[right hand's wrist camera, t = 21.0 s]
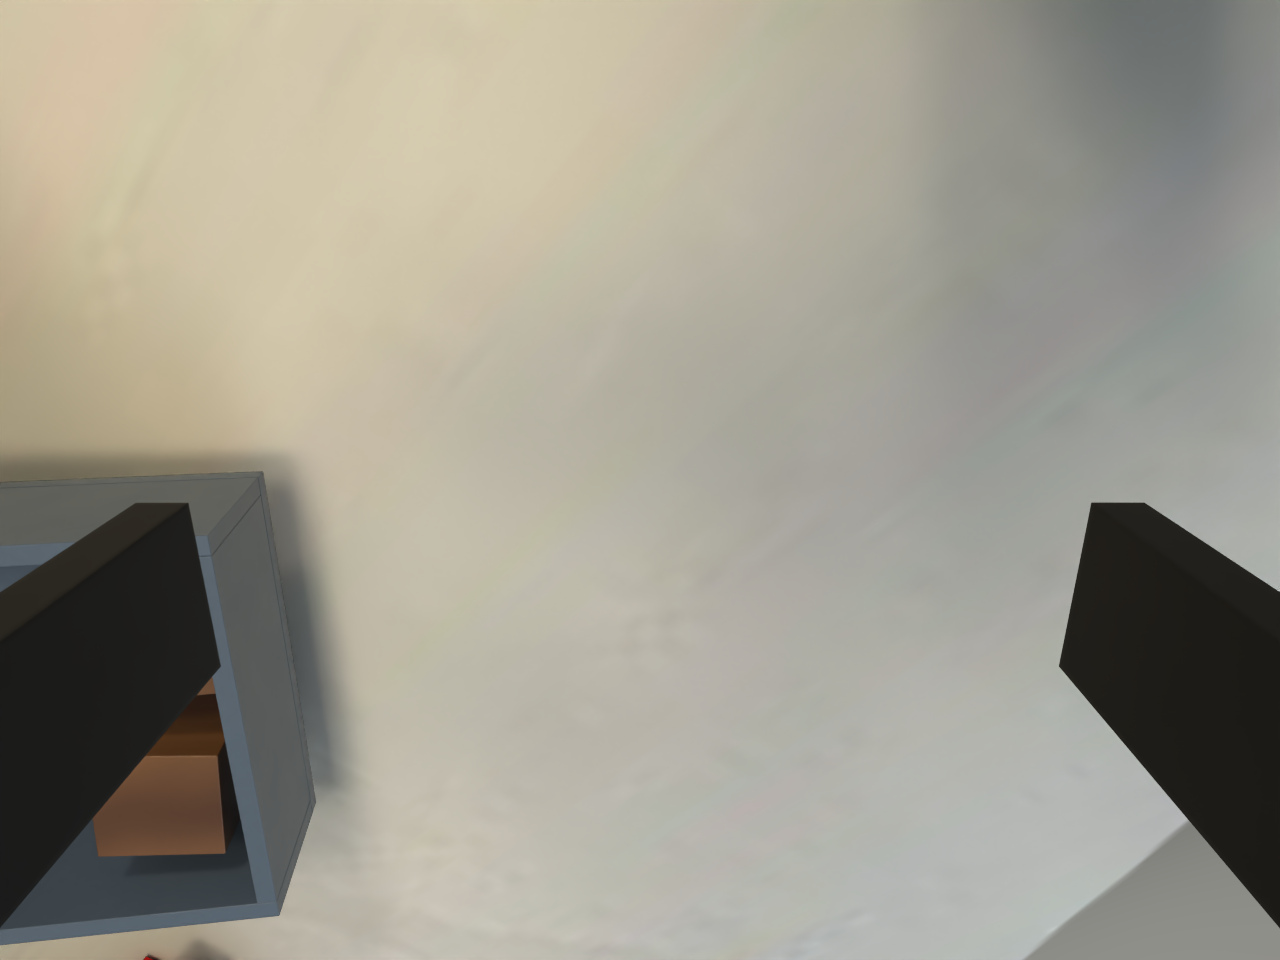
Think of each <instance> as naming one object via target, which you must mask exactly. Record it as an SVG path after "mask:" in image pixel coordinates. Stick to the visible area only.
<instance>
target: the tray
mask: <svg viewBox="0 0 1280 960" xmlns="http://www.w3.org/2000/svg"><path fill="white" fill-rule="evenodd" d="M135 503H189V508H190V513H191V518H192V523H193V528H194V533H195V538H196V543H197V548H198V553H199V558H200V563H201V568H202V573H203V578H204V583H205V588H206V593H207V599H208V604H209V609H210V614H211V619H212V624H213V629H214V634H215V639H216V644H217V649H218V654H219V659H220V664H221V667H220V668H219V669H218V670H217V672H216V673H215V674H214V675H213V676H212V678H213V683H214V688H215V693H216V698H217V703H218V708H219V713H220V718H221V723H222V728H223V733H224V738H225V743H226V748H227V753H228V759H229V764H230V769H231V774H232V779H233V784H234V789H235V794H236V799H237V804H238V809H239V814H240V821H239V823H238V826H237V828H236V830H235V833H234V835H233V837H232V840H231V842H230V844H229V846H228V849H227V851H226V853H225V854H188V855H147V856H107V857H99V856H98V852H97V846H96V839H95V832H94V825H93V819H92V820H91V821H90V822H89V823H88V825H87V826H86V827H85V828H84V829H83V830H82V832H81V833H80V834H79V835H78V836H77V838H76V839H75V840H74V841H73V842H72V843H71V845H70V846H69V847H68V848H67V849H66V851H65V852H64V853H63V854H62V855H61V857H60V858H59V859H58V860H57V861H56V862H55V864H54V865H53V866H52V867H51V868H50V870H49V871H48V872H47V873H46V874H45V875H44V877H43V878H42V879H41V880H40V881H39V883H38V884H37V885H36V886H35V887H34V889H33V890H32V891H31V892H30V893H29V894H28V896H27V897H26V898H25V899H24V900H23V902H22V903H21V904H20V905H19V906H18V907H17V909H16V910H15V911H14V912H13V913H12V915H11V916H10V917H9V918H8V919H7V921H6V922H5V923H4V924H3V925H2V926H1V928H0V945H7V944H16V943H26V942H35V941H44V940H54V939H63V938H73V937H82V936H92V935H101V934H111V933H120V932H130V931H139V930H149V929H158V928H168V927H177V926H187V925H196V924H206V923H215V922H225V921H234V920H244V919H253V918H262V917H272V916H279V915H280V912H281V909H282V906H283V902H284V899H285V896H286V893H287V890H288V887H289V884H290V881H291V878H292V875H293V872H294V868H295V865H296V862H297V859H298V856H299V853H300V850H301V847H302V844H303V841H304V838H305V834H306V831H307V828H308V825H309V822H310V819H311V816H312V812H313V810H314V806H315V803H316V799H315V793H314V787H313V780H312V774H311V768H310V762H309V755H308V749H307V743H306V737H305V730H304V724H303V718H302V712H301V705H300V699H299V693H298V687H297V680H296V674H295V668H294V662H293V655H292V649H291V643H290V637H289V630H288V624H287V618H286V612H285V605H284V599H283V593H282V587H281V580H280V574H279V568H278V562H277V555H276V549H275V543H274V537H273V530H272V524H271V518H270V512H269V505H268V499H267V493H266V487H265V480H264V474H263V472H262V471H259V472H235V473H211V474H187V475H163V476H139V477H115V478H91V479H67V480H43V481H19V482H0V592H1V591H3V590H4V589H6V588H7V587H9V586H10V585H12V584H13V583H15V582H16V581H18V580H20V579H21V578H23V577H24V576H26V575H27V574H29V573H30V572H32V571H33V570H35V569H36V568H38V567H39V566H41V565H42V564H44V563H45V562H47V561H48V560H50V559H51V558H53V557H54V556H56V555H57V554H59V553H60V552H62V551H63V550H65V549H66V548H68V547H69V546H71V545H72V544H74V543H76V542H77V541H79V540H80V539H82V538H83V537H85V536H86V535H88V534H89V533H91V532H92V531H94V530H95V529H97V528H98V527H100V526H101V525H103V524H104V523H106V522H107V521H109V520H110V519H112V518H113V517H115V516H116V515H118V514H119V513H121V512H122V511H124V510H125V509H127V508H128V507H130V506H132V505H133V504H135Z"/></svg>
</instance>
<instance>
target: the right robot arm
mask: <svg viewBox="0 0 1280 960" xmlns="http://www.w3.org/2000/svg"><path fill="white" fill-rule="evenodd" d="M220 667H221V664H220V659H219V654H218V649H217V644H216V639H215V634H214V629H213V624H212V619H211V614H210V609H209V604H208V599H207V593H206V588H205V583H204V578H203V573H202V568H201V563H200V558H199V553H198V548H197V543H196V538H195V533H194V528H193V523H192V518H191V513H190V508H189V503H135V504H133V505H132V506H130V507H128V508H127V509H125V510H124V511H122V512H121V513H119V514H118V515H116V516H115V517H113V518H112V519H110V520H109V521H107V522H106V523H104V524H103V525H101V526H100V527H98V528H97V529H95V530H94V531H92V532H91V533H89V534H88V535H86V536H85V537H83V538H82V539H80V540H79V541H77V542H76V543H74V544H72V545H71V546H69V547H68V548H66V549H65V550H63V551H62V552H60V553H59V554H57V555H56V556H54V557H53V558H51V559H50V560H48V561H47V562H45V563H44V564H42V565H41V566H39V567H38V568H36V569H35V570H33V571H32V572H30V573H29V574H27V575H26V576H24V577H23V578H21V579H20V580H18V581H16V582H15V583H13V584H12V585H10V586H9V587H7V588H6V589H4V590H3V591H1V592H0V928H1V926H2V925H3V924H4V923H5V922H6V921H7V919H8V918H9V917H10V916H11V915H12V913H13V912H14V911H15V910H16V909H17V907H18V906H19V905H20V904H21V903H22V902H23V900H24V899H25V898H26V897H27V896H28V894H29V893H30V892H31V891H32V890H33V889H34V887H35V886H36V885H37V884H38V883H39V881H40V880H41V879H42V878H43V877H44V875H45V874H46V873H47V872H48V871H49V870H50V868H51V867H52V866H53V865H54V864H55V862H56V861H57V860H58V859H59V858H60V857H61V855H62V854H63V853H64V852H65V851H66V849H67V848H68V847H69V846H70V845H71V843H72V842H73V841H74V840H75V839H76V838H77V836H78V835H79V834H80V833H81V832H82V830H83V829H84V828H85V827H86V826H87V825H88V823H89V822H90V821H91V820H92V819H93V817H94V816H95V815H96V814H97V813H98V811H99V810H100V809H101V808H102V807H103V806H104V804H105V803H106V802H107V801H108V800H109V798H110V797H111V796H112V795H113V794H114V793H115V791H116V790H117V789H118V788H119V787H120V785H121V784H122V783H123V782H124V781H125V779H126V778H127V777H128V776H129V775H130V774H131V772H132V771H133V770H134V769H135V768H136V766H137V765H138V764H139V763H140V762H141V760H142V759H143V758H144V757H145V756H146V755H147V753H148V752H149V751H150V750H151V749H152V747H153V746H154V745H155V744H156V743H157V742H158V740H159V739H160V738H161V737H162V736H163V734H164V733H165V732H166V731H167V730H168V728H169V727H170V726H171V725H172V724H173V723H174V721H175V720H176V719H177V718H178V717H179V715H180V714H181V713H182V712H183V711H184V710H185V708H186V707H187V706H188V705H189V704H190V702H191V701H192V700H193V699H194V698H195V696H196V695H197V694H198V693H199V692H200V691H201V689H202V688H203V687H204V686H205V685H206V683H207V682H208V681H209V680H210V679H211V678H212V676H213V675H214V674H215V673H216V672H217V670H218V669H219V668H220ZM1059 667H1060V668H1061V669H1062V670H1063V672H1064V673H1065V674H1066V675H1067V676H1068V678H1069V679H1070V680H1071V681H1072V682H1073V683H1074V685H1075V686H1076V687H1077V688H1078V689H1079V691H1080V692H1081V693H1082V694H1083V695H1084V696H1085V698H1086V699H1087V700H1088V701H1089V702H1090V704H1091V705H1092V706H1093V707H1094V708H1095V710H1096V711H1097V712H1098V713H1099V714H1100V715H1101V717H1102V718H1103V719H1104V720H1105V721H1106V723H1107V724H1108V725H1109V726H1110V727H1111V728H1112V730H1113V731H1114V732H1115V733H1116V734H1117V736H1118V737H1119V738H1120V739H1121V740H1122V742H1123V743H1124V744H1125V745H1126V746H1127V747H1128V749H1129V750H1130V751H1131V752H1132V753H1133V755H1134V756H1135V757H1136V758H1137V759H1138V760H1139V762H1140V763H1141V764H1142V765H1143V766H1144V768H1145V769H1146V770H1147V771H1148V772H1149V774H1150V775H1151V776H1152V777H1153V778H1154V779H1155V781H1156V782H1157V783H1158V784H1159V785H1160V787H1161V788H1162V789H1163V790H1164V791H1165V793H1166V794H1167V795H1168V796H1169V797H1170V798H1171V800H1172V801H1173V802H1174V803H1175V804H1176V806H1177V807H1178V808H1179V809H1180V810H1181V811H1182V813H1183V814H1184V815H1185V816H1186V817H1187V819H1188V820H1189V821H1190V822H1191V823H1192V825H1193V826H1194V827H1195V828H1196V829H1197V830H1198V832H1199V833H1200V834H1201V835H1202V836H1203V838H1204V839H1205V840H1206V841H1207V842H1208V843H1209V845H1210V846H1211V847H1212V848H1213V849H1214V851H1215V852H1216V853H1217V854H1218V855H1219V857H1220V858H1221V859H1222V860H1223V861H1224V862H1225V864H1226V865H1227V866H1228V867H1229V868H1230V870H1231V871H1232V872H1233V873H1234V874H1235V875H1236V877H1237V878H1238V879H1239V880H1240V881H1241V883H1242V884H1243V885H1244V886H1245V887H1246V889H1247V890H1248V891H1249V892H1250V893H1251V894H1252V896H1253V897H1254V898H1255V899H1256V900H1257V901H1258V903H1259V904H1260V905H1261V906H1262V907H1263V909H1264V910H1265V911H1266V912H1267V913H1268V915H1269V916H1270V917H1271V918H1272V919H1273V921H1274V922H1275V923H1276V924H1277V925H1278V926H1279V928H1280V592H1279V591H1277V590H1276V589H1274V588H1273V587H1271V586H1270V585H1268V584H1267V583H1265V582H1264V581H1262V580H1260V579H1259V578H1257V577H1256V576H1254V575H1253V574H1251V573H1250V572H1248V571H1247V570H1245V569H1244V568H1242V567H1241V566H1239V565H1238V564H1236V563H1235V562H1233V561H1232V560H1230V559H1229V558H1227V557H1226V556H1224V555H1223V554H1221V553H1220V552H1218V551H1217V550H1215V549H1214V548H1212V547H1211V546H1209V545H1208V544H1206V543H1204V542H1203V541H1201V540H1200V539H1198V538H1197V537H1195V536H1194V535H1192V534H1191V533H1189V532H1188V531H1186V530H1185V529H1183V528H1182V527H1180V526H1179V525H1177V524H1176V523H1174V522H1173V521H1171V520H1170V519H1168V518H1167V517H1165V516H1164V515H1162V514H1161V513H1159V512H1158V511H1156V510H1155V509H1153V508H1152V507H1150V506H1148V505H1147V504H1145V503H1091V508H1090V513H1089V518H1088V523H1087V528H1086V533H1085V538H1084V543H1083V548H1082V553H1081V558H1080V563H1079V568H1078V573H1077V578H1076V583H1075V588H1074V593H1073V599H1072V604H1071V609H1070V614H1069V619H1068V624H1067V629H1066V634H1065V639H1064V644H1063V649H1062V654H1061V659H1060V664H1059Z"/></svg>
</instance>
